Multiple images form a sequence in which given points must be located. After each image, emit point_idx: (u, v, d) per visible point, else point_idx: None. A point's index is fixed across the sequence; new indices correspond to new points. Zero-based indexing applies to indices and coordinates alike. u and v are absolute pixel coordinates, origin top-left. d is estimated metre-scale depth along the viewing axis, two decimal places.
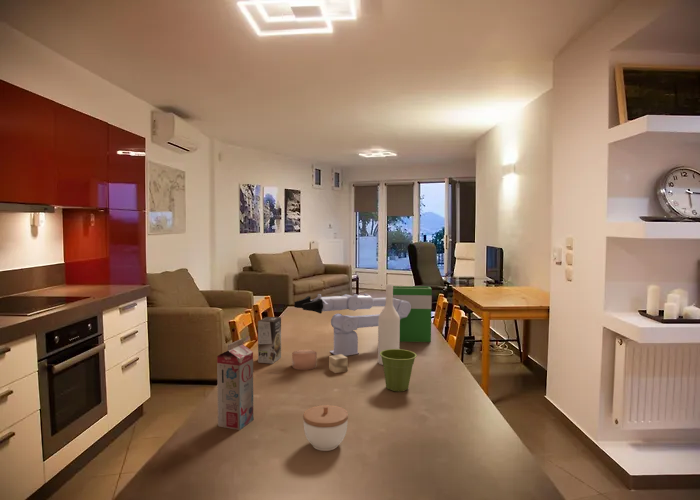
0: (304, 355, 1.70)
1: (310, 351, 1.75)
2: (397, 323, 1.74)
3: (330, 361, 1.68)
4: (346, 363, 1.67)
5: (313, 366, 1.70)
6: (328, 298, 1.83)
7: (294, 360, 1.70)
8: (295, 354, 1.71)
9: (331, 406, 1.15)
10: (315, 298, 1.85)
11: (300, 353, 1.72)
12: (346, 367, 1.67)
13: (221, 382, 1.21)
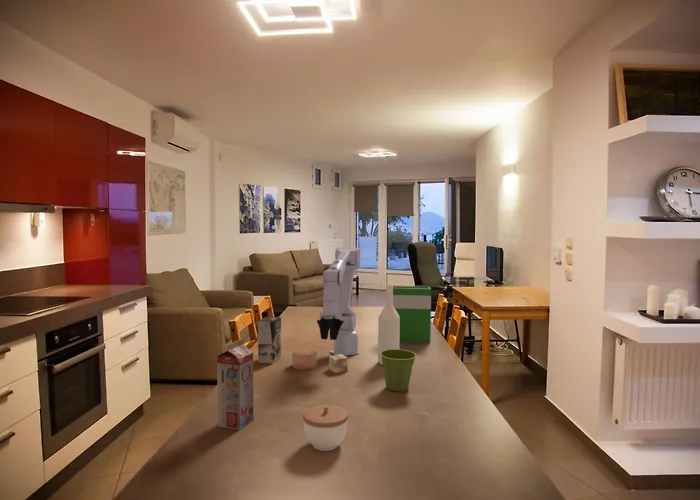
0: (304, 355, 1.70)
1: (310, 351, 1.75)
2: (397, 323, 1.74)
3: (330, 361, 1.68)
4: (346, 363, 1.67)
5: (313, 366, 1.70)
6: (327, 305, 1.68)
7: (294, 360, 1.70)
8: (295, 354, 1.71)
9: (331, 406, 1.15)
10: (322, 315, 1.71)
11: (300, 353, 1.72)
12: (346, 367, 1.67)
13: (221, 382, 1.21)
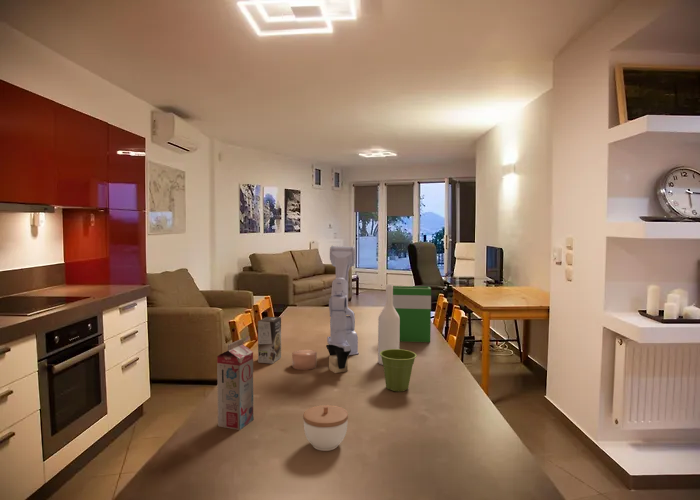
0: (304, 355, 1.70)
1: (310, 351, 1.75)
2: (397, 323, 1.74)
3: (330, 361, 1.68)
4: (346, 363, 1.67)
5: (313, 366, 1.70)
6: (334, 335, 1.65)
7: (294, 360, 1.70)
8: (295, 354, 1.71)
9: (331, 406, 1.15)
10: None
11: (300, 353, 1.72)
12: (346, 367, 1.67)
13: (221, 382, 1.21)
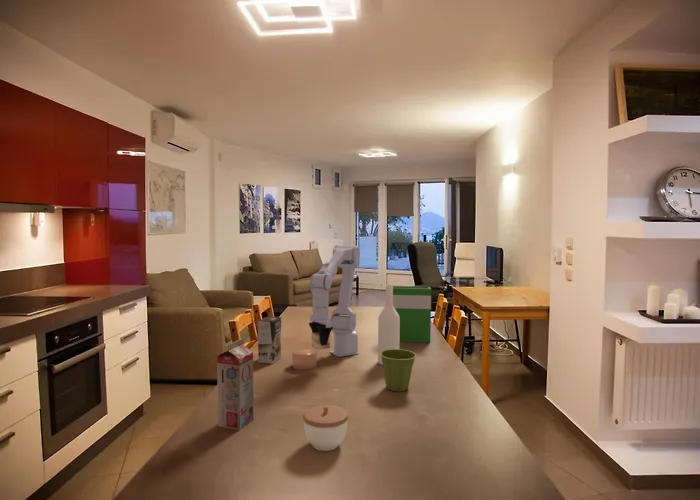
0: (304, 355, 1.70)
1: (310, 351, 1.75)
2: (397, 323, 1.74)
3: (312, 338, 1.70)
4: (328, 340, 1.69)
5: (313, 366, 1.70)
6: (316, 312, 1.67)
7: (294, 360, 1.70)
8: (295, 354, 1.71)
9: (331, 406, 1.15)
10: None
11: (300, 353, 1.72)
12: (328, 344, 1.69)
13: (221, 382, 1.21)
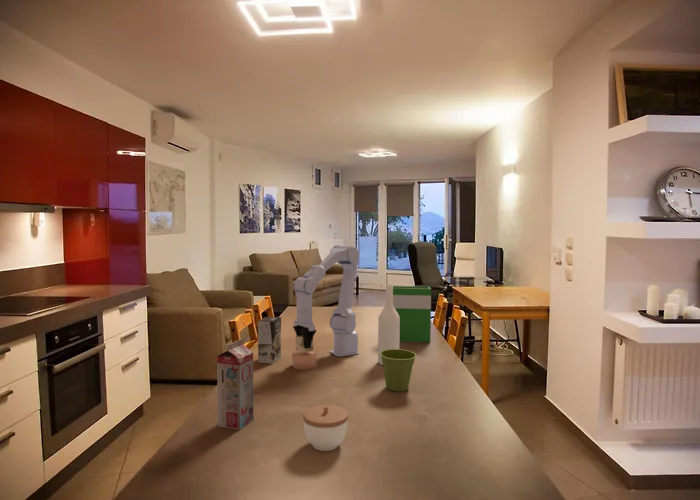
0: (304, 355, 1.70)
1: (310, 351, 1.75)
2: (397, 323, 1.74)
3: (296, 341, 1.72)
4: (312, 343, 1.71)
5: (313, 366, 1.70)
6: (300, 315, 1.69)
7: (294, 360, 1.70)
8: (295, 354, 1.71)
9: (331, 406, 1.15)
10: None
11: (300, 353, 1.72)
12: (312, 347, 1.71)
13: (221, 382, 1.21)
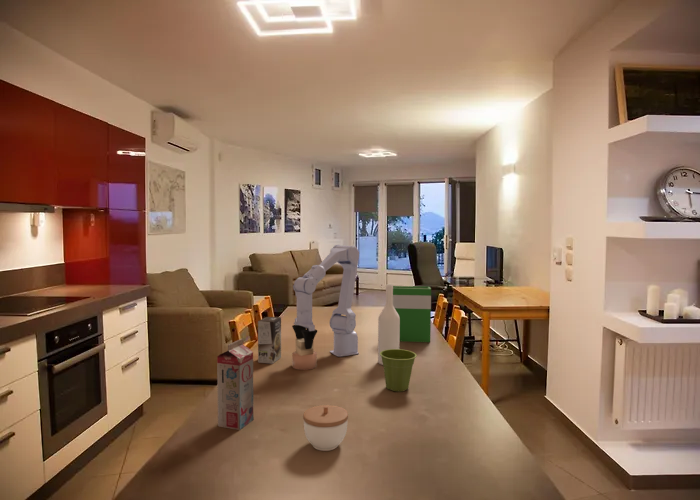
0: (304, 355, 1.70)
1: None
2: (397, 323, 1.74)
3: (296, 345, 1.72)
4: (312, 346, 1.71)
5: (313, 366, 1.70)
6: (300, 315, 1.69)
7: (294, 360, 1.70)
8: (295, 354, 1.71)
9: (331, 406, 1.15)
10: None
11: None
12: (312, 350, 1.71)
13: (221, 382, 1.21)
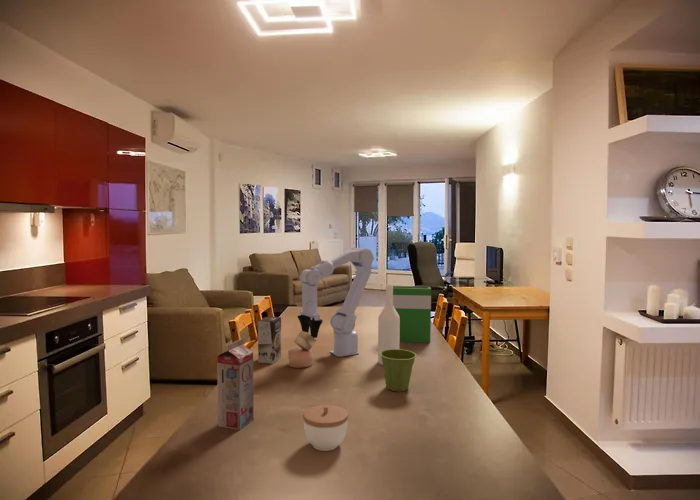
0: (300, 352, 1.71)
1: None
2: (397, 323, 1.74)
3: (299, 335, 1.76)
4: (312, 344, 1.74)
5: (309, 363, 1.72)
6: (305, 305, 1.77)
7: (290, 358, 1.71)
8: (291, 352, 1.72)
9: (331, 406, 1.15)
10: None
11: (296, 351, 1.74)
12: (310, 347, 1.74)
13: (221, 382, 1.21)
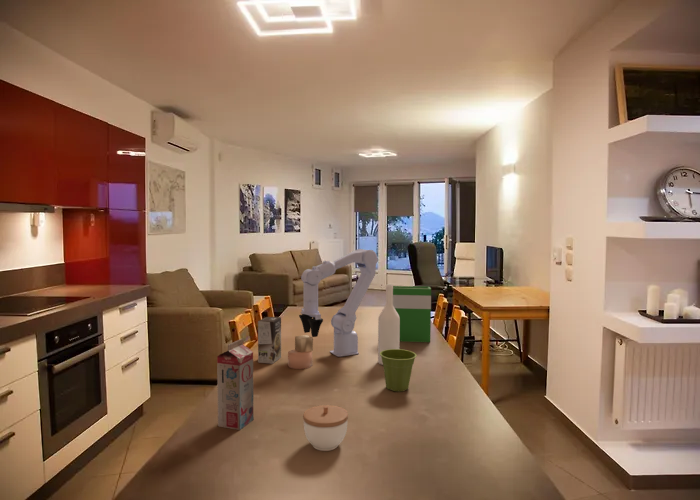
0: (300, 354, 1.71)
1: None
2: (397, 323, 1.74)
3: (303, 336, 1.78)
4: (307, 350, 1.75)
5: (309, 365, 1.71)
6: (306, 305, 1.79)
7: (290, 359, 1.71)
8: (291, 353, 1.72)
9: (331, 406, 1.15)
10: None
11: (296, 352, 1.73)
12: (304, 350, 1.74)
13: (221, 382, 1.21)
